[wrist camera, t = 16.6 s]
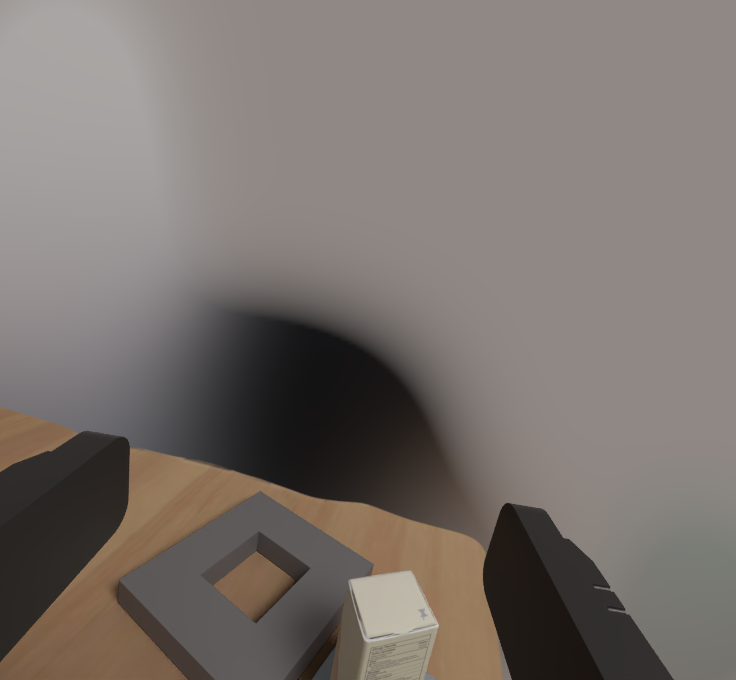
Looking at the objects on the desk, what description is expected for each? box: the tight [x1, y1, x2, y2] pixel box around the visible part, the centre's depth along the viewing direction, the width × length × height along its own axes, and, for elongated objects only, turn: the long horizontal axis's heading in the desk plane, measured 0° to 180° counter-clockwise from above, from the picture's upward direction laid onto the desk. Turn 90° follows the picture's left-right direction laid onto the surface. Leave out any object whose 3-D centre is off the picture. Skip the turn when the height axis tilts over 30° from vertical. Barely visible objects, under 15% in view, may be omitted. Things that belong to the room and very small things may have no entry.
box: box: [330, 570, 438, 680], centre depth 26 cm, size 5×4×11 cm
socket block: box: [118, 491, 374, 680], centre depth 36 cm, size 16×16×2 cm
